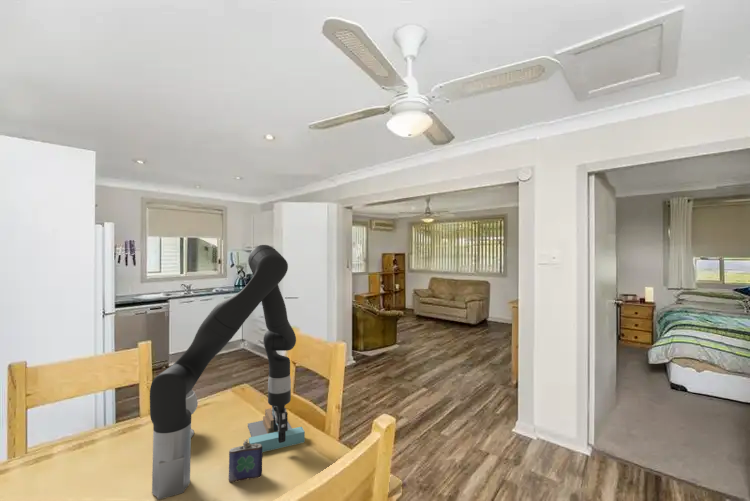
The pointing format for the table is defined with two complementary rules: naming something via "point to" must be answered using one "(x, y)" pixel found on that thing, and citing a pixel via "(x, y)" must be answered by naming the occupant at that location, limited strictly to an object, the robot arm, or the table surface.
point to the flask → (245, 462)
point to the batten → (272, 441)
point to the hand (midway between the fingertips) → (279, 435)
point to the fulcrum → (263, 425)
